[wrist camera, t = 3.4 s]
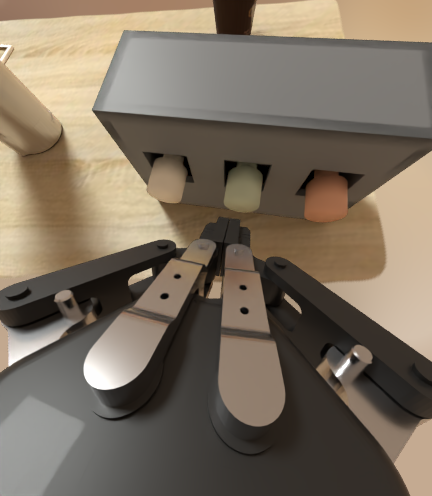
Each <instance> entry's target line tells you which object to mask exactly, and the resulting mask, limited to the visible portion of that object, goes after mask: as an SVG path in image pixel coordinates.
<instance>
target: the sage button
mask: <svg viewBox="0 0 432 496" xmlns="http://www.w3.org/2000/svg"><path fill="white" fill-rule="evenodd" d="M257 164H258V163H248V162H239V161H237V167H235V168H233V169H231V170H230V172H229V174H228V179H227V185H226V191H225V197H224V205H225V206H226V207H227V208H229V209H231V210H233V211H237V212H252V211H255V210H257V209H258V208H259V206H260V197H261V189H262V181H263V175H262V173H261V172H260V171H259V170H258V169H257Z"/></svg>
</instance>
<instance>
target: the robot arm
mask: <svg viewBox="0 0 432 496" xmlns="http://www.w3.org/2000/svg"><path fill="white" fill-rule="evenodd" d="M61 131H62V128H61V124H60V122H59V120H58V119H57V118H56V117H55V116H54V115H53V114H52V113H51V112H50V111H49V110H48V109H47V108H46V107H45V106H44V105H43V104H42V103H41V102H40V101H39V100H38V99H37V98H36V97H35V95H34V94H33V93H32V92H31V91H30V90H29V89H28V88H27V87H26V86H25V85H24V84H23V83H22V82H21V81H20V80H19V79H18V78H17V77H16V76H15V75H14V74H13V73H12V72H11V71H10V70H9V69H8V68H7V67H6V66H5V65H4V63H3V62H2V61H1V60H0V141H1V142H2V143H4V144H5V145H7V146H8V147H10V148H11V149H13V150H14V151H16V152H17V153H19V154H20V155H22V156H25V155H27V154H36V153H41V152H43V151H46V150H47V149H49V148H51V147H52V146H53V145H54V144H55V143H56V142H57V141H58V139H59V137H60V135H61ZM149 268H152V273H153V276H151V277H148V278H146V279H144V280H141V281H139V282H137V283H134V284H132V285H130V286H128V280H129V278H130V277H131V276H133V275H134V274H137V273H139V272H142V271H144V270H147V269H149ZM220 270H221V273H220ZM219 274H220V276H222V277H223V278H222V287H221V297H220V299H208V296H209V293H210V290H211V288H212V285H213V280H214V277H215V275H216V276H219ZM285 293H286V294H287V295H289V296H290V297H291V298H292V299H293V300H294V301H295V302H296V303H298V305H299V306H300V308H301V311H302V314H300V313H299V312H298V311H297V310H296V309H295V308H294V307H293V306H291V304H289V303H288V302H287V301H286V300H285V299H284V296H285ZM0 320H1V323H2V325H3V326H4V328H5V329H6V330H7V331H8V335H9V336H8V337H9V339H8V341H9V342H8V347H9V367H7V368H6V369H4V370H3V371H2V372H0V496H410V494H409V492H408V490H407V487H406V485H405V483H404V481H403V479H402V477H401V475H400V474H399V472H398V470H397V469H396V467H395V465H394V462H395V461H396V459H397V458H398V456H399V454H400V453H401V451H402V449H403V448H404V446H405V445H406V443H407V441H408V440H409V438H410V436H411V435H412V433H413V432H414V430H415V429H416V427H418V426H419V425H421V424H423V423H425V422H427V421H429V420H431V419H432V362H431V361H430V360H428V359H427V358H425V357H424V356H423V355H421V354H420V353H418V352H417V351H415V350H414V349H413V348H411V347H410V346H408V345H407V344H406V343H404V342H403V341H401V340H400V339H398V338H397V337H396V336H394V335H393V334H391V333H390V332H389V331H387V330H386V329H384V328H383V327H382V326H380V325H379V324H377V323H376V322H375V321H373V320H372V319H370V318H369V317H367V316H366V315H365V314H363V313H362V312H360V311H359V310H358V309H356V308H355V307H353V306H352V305H350V304H349V303H348V302H346V301H345V300H343V299H342V298H341V297H339V296H338V295H336V294H335V293H333V292H332V291H331V290H329V289H328V288H326V287H325V286H324V285H322V284H321V283H319V282H318V281H317V280H315V279H314V278H312V277H311V276H310V275H308V274H307V273H305V272H304V271H302V270H301V269H300V268H298V267H297V266H295V265H294V264H293V263H291V262H290V261H288V260H286V259H284V258H281V257H270V258H268V259H267V260H266V262H265V261H262V260H259V259H257V258H255V257H254V256H253V255H252V251H251V249H250V230H249V229H248V228H246V227H240V220H239V219H232V218H230V221H229V218H224V217H219V218H218V221H217V223H209V224H207V225H206V226H205V228H204V230H203V232H202V234H201V236H200V238H199V239H198V240H195V241H193V242H192V243H191V244H190V246H189V247H188V248H176V244H175V243H174V242H173V241H170V240H157V241H154V242H151V243H147V244H144V245H141V246H137V247H134V248H131V249H128V250H124V251H121V252H118V253H114V254H111V255H108V256H105V257H101V258H98V259H95V260H92V261H88V262H85V263H82V264H78V265H75V266H72V267H69V268H65V269H62V270H59V271H56V272H52V273H49V274H46V275H42V276H39V277H36V278H33V279H30V280H26V281H23V282H19V283H16V284H13V285H11V286H9V287H6V288H5V289H3V290H1V291H0Z"/></svg>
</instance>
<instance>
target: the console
mask: <svg viewBox="0 0 432 496" xmlns="http://www.w3.org/2000/svg"><path fill="white" fill-rule="evenodd" d="M92 111H93V112H94V114H95V115H96V116H97V118H98V119H99V120H100V122H101V123H102V125H103V126H104V127H105V129H106V130H107V131H108V133H109V134H110V135H111V137H112V138H113V140H114V141H115V142H116V144H117V145H118V146H119V148H120V149H121V150H122V152H123V153H124V155H125V156H126V157H127V159H128V160H129V161H130V163H131V164H132V165H133V167H134V168H135V170H136V171H137V172H138V174H139V175H140V176H141V178H142V179H143V180H144V182H145V183H146V185H148V182H149V178H150V175H151V171H152V168H153V164H154V161H155V159H157V158H159V157H163V155H164V154H171V155H181V156H185V157H187V159H188V163H189V166H190V169H191V173H192V176H187V177H186V181H185V186H184V190H183V195H182V199H181V201H180V202H178V203H183V204H191V205H199V206H206V207H214V208H222V209H229V208H227V207H226V206H225V205H224V197H225V191H226V185H227V180H225V161H226V162H235V163H237V161H239V162H248V163H258V164H257V165H264V166H270V167H269V170H268V173H267V176H266V179H265V182H264V184H262V189H261V197H260V206H259V208H258V209H257V210H255V211H252V212H253V213H261V214H269V215H276V216H284V217H292V218H300V219H306V218H305V217H304V210H305V194H306V189H300V187H301V185H302V184H303V182H304V181H305V180H306V178H307V177H308V175H309V174H310V172H311V171H314V169H316V170H325V171H335V172H339V176H342V177H344V178H346V179H347V182H348V209H349V208H350V207H352V206H353V205H354V204H356V203H357V202H359V201H360V200H362V199H363V198H364V197H366V196H367V195H369V194H370V193H372V192H373V191H375V190H376V189H377V188H379V187H380V186H382V185H383V184H384V183H386V182H387V181H389V180H390V179H392V178H393V177H394V176H396V175H397V174H399V173H400V172H402V171H403V170H405V169H406V168H407V167H409V166H410V165H412V164H413V163H415V162H416V161H418V160H419V159H420V158H422V157H423V156H425V155H426V154H427V153H429V152H430V151H432V43H429V42H403V41H378V40H354V39H329V38H304V37H279V36H254V35H229V34H204V33H179V32H154V31H129V30H124V31H123V34H122V36H121V39H120V41H119V44H118V46H117V49H116V51H115V54H114V56H113V59H112V61H111V64H110V66H109V69H108V71H107V74H106V76H105V79H104V81H103V84H102V86H101V89H100V91H99V93H98V96H97V98H96V101H95V103H94V106H93V108H92ZM230 210H231V209H230Z"/></svg>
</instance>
